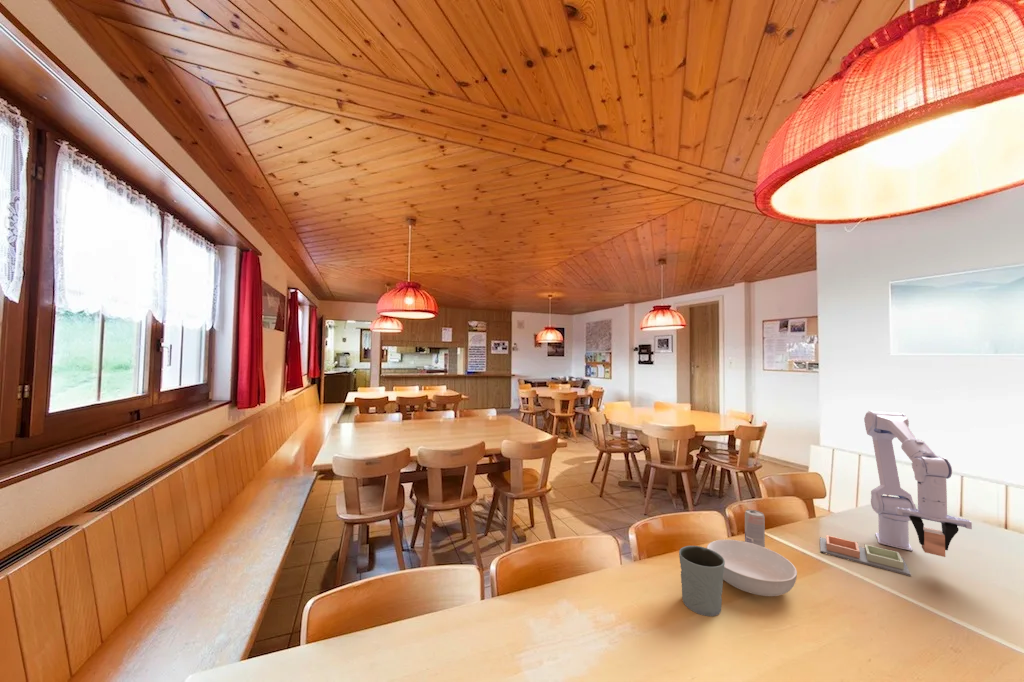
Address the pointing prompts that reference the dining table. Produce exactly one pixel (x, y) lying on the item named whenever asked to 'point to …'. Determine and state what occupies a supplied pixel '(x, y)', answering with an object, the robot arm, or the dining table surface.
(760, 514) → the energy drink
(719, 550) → the serving bowl
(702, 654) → the dining table surface
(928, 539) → the terracotta block
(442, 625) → the dining table surface
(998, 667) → the dining table surface
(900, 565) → the sorting board
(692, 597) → the grey cup
